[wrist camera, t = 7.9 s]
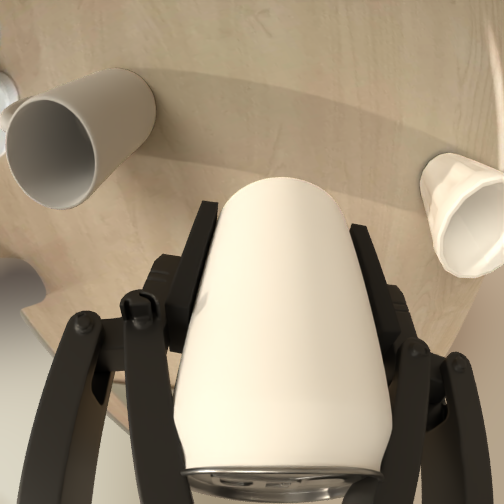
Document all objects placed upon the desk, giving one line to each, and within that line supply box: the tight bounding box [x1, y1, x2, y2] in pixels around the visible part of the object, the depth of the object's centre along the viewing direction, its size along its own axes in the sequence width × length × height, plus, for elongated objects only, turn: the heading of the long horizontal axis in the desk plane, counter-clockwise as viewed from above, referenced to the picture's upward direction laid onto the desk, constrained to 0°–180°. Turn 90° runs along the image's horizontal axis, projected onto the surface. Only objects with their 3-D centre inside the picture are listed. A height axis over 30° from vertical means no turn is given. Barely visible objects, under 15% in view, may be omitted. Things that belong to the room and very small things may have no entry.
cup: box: [420, 153, 504, 278], centre depth 24 cm, size 10×10×9 cm
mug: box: [0, 68, 156, 210], centre depth 21 cm, size 12×8×11 cm
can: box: [172, 177, 392, 503], centre depth 11 cm, size 6×6×12 cm
